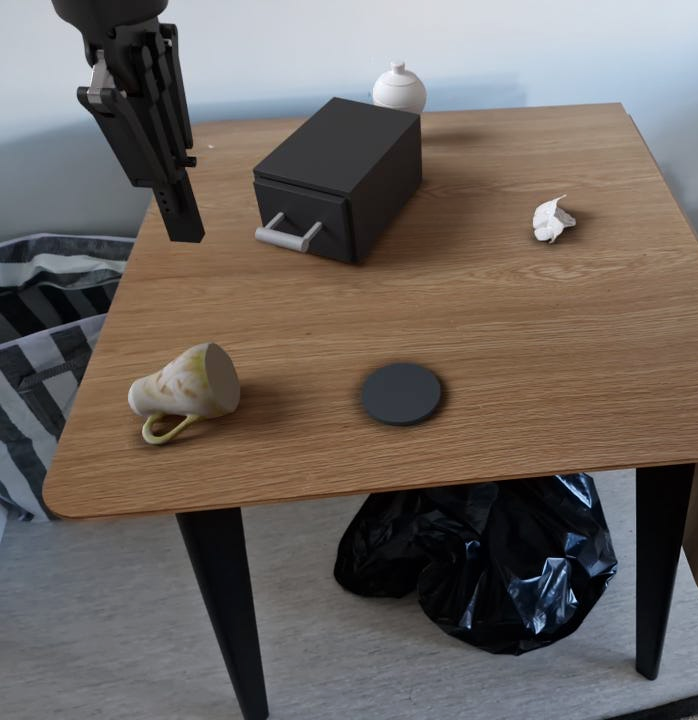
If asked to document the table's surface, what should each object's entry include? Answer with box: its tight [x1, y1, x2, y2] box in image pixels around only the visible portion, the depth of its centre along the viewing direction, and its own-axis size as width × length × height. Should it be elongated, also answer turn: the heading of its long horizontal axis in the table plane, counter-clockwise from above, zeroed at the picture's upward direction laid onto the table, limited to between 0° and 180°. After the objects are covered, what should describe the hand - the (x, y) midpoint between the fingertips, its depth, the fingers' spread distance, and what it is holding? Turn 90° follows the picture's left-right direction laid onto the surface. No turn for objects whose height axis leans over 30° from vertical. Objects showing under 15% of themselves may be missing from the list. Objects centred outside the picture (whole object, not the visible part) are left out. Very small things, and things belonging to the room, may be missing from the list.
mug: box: [127, 342, 241, 445], centre depth 69 cm, size 8×10×10 cm
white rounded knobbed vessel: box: [372, 59, 428, 116], centre depth 104 cm, size 8×8×12 cm
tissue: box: [532, 194, 577, 244], centre depth 93 cm, size 6×8×4 cm
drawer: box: [252, 177, 353, 263], centre depth 89 cm, size 24×11×8 cm, turn 160°
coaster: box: [360, 362, 442, 427], centre depth 73 cm, size 8×8×1 cm
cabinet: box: [252, 96, 424, 264], centre depth 92 cm, size 20×13×10 cm, turn 160°
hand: (188, 237), depth 65 cm, fingers closed
